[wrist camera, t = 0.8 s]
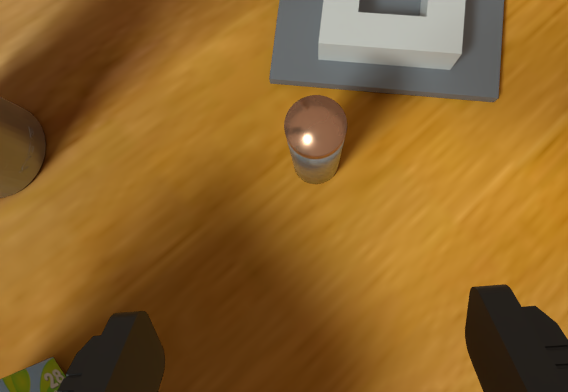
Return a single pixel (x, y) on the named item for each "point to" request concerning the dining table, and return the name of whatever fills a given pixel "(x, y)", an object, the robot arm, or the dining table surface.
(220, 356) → the dining table surface
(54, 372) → the snack box
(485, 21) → the dock
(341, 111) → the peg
